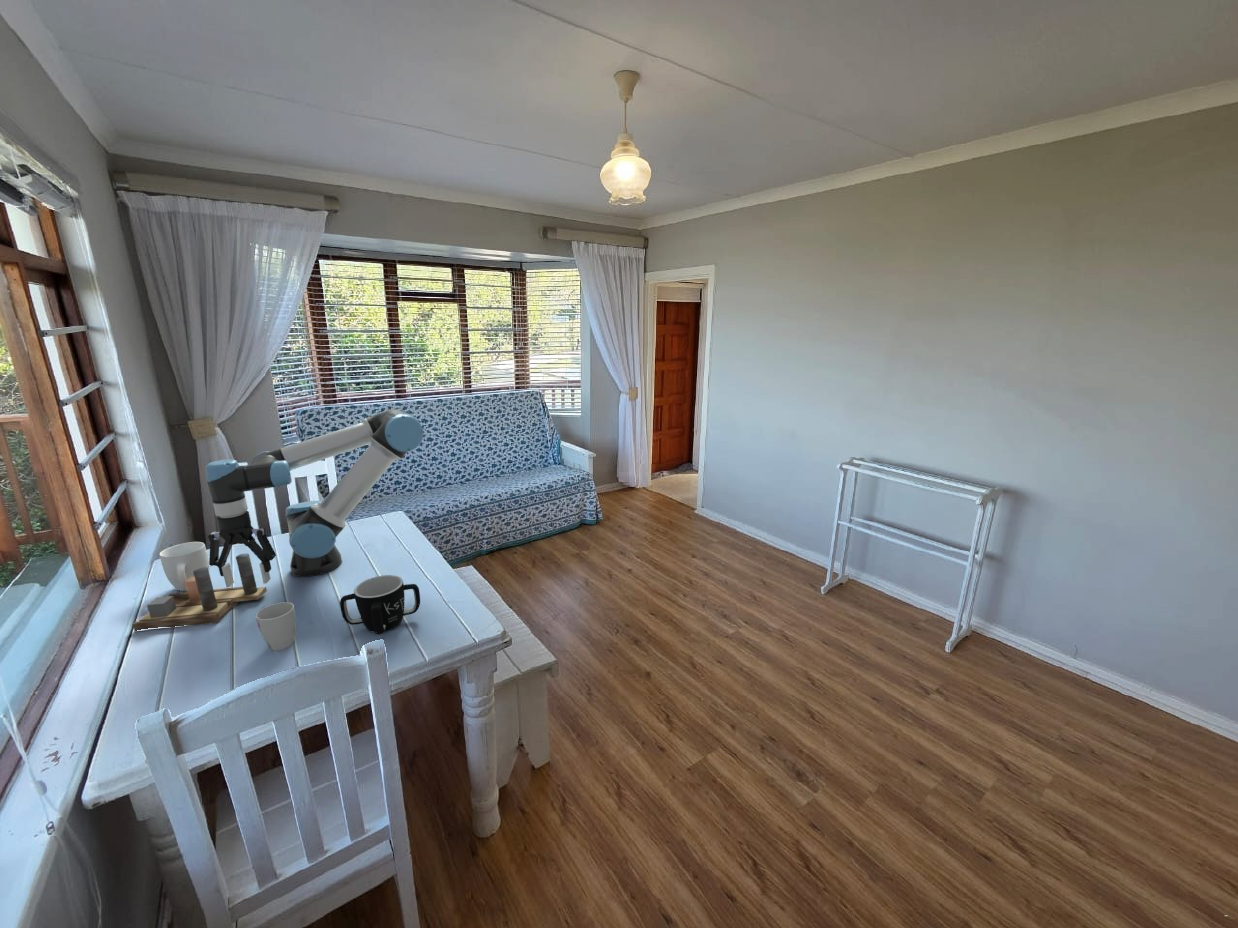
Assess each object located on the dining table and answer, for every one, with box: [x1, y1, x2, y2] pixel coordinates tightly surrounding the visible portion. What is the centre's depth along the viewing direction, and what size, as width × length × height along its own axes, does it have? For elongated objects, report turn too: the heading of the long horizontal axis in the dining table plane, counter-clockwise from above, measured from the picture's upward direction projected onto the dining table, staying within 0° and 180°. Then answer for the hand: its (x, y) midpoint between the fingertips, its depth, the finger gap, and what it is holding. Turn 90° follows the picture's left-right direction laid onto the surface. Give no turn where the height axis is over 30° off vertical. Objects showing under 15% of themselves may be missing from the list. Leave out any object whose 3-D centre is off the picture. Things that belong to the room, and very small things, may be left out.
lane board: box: [131, 586, 243, 632], centre depth 145 cm, size 20×16×2 cm
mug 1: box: [159, 541, 211, 592], centre depth 156 cm, size 15×11×13 cm
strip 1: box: [138, 567, 228, 622], centre depth 139 cm, size 19×5×13 cm, turn 102°
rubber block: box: [146, 595, 177, 618], centre depth 139 cm, size 4×4×4 cm
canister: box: [184, 576, 201, 602], centre depth 147 cm, size 5×5×6 cm
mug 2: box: [339, 574, 421, 635], centre depth 136 cm, size 16×16×12 cm
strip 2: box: [185, 552, 267, 604], centre depth 148 cm, size 19×5×13 cm, turn 102°
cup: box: [255, 601, 297, 652], centre depth 128 cm, size 8×8×10 cm
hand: (248, 583), depth 150 cm, fingers open, 9 cm apart
